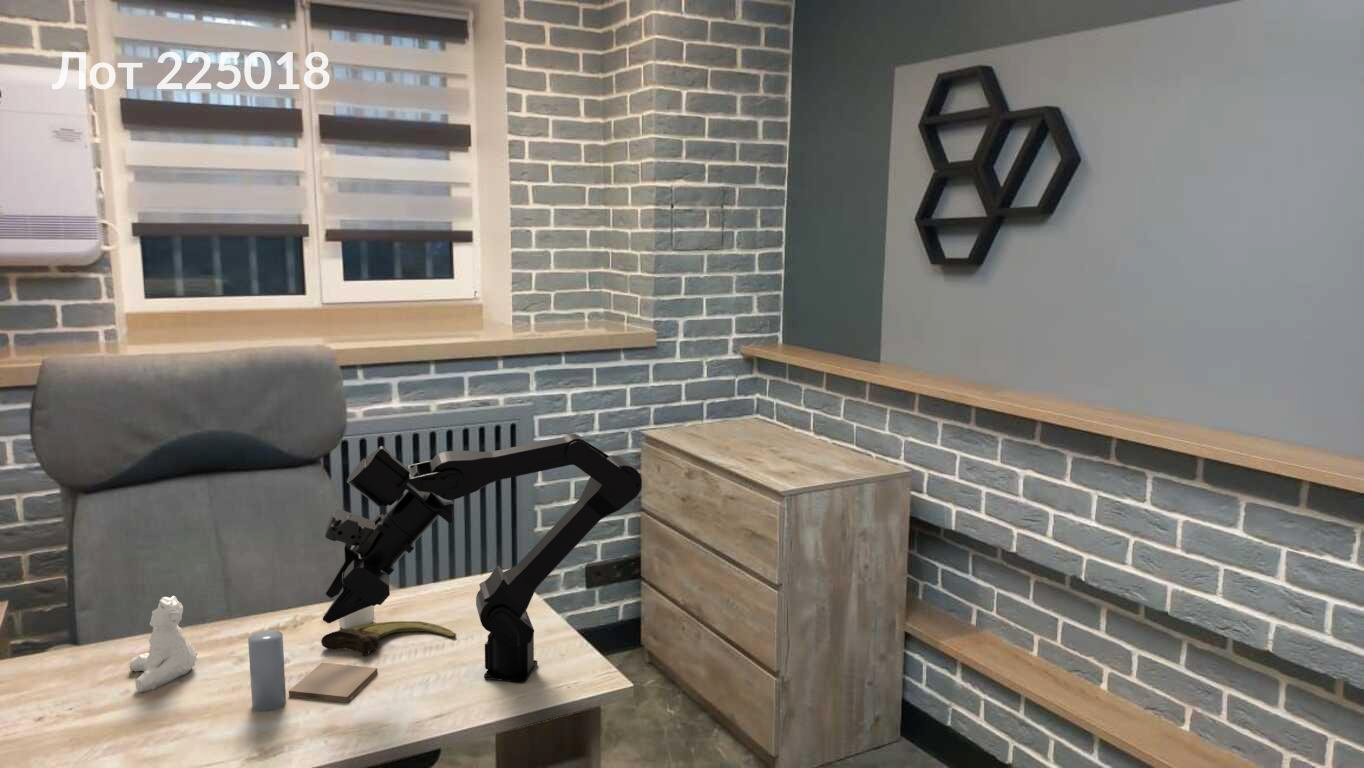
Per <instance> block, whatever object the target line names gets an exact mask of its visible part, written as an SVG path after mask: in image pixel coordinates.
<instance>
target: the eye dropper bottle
mask: <svg viewBox="0 0 1364 768" xmlns="http://www.w3.org/2000/svg"><path fill="white" fill-rule="evenodd" d="M374 620H375V606H373V605H372V606H369V607H366V608H364V609H361V610H359V611H356V612H354V613H351V614H349V615H347V616H345V617H342V618H340V619H338V625H339V627H340V628H341V629H345V628H350V627H353V626H359V625H364V624H371V623H372V622H373V623H374Z"/></svg>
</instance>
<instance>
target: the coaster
mask: <svg viewBox="0 0 1364 768" xmlns="http://www.w3.org/2000/svg"><path fill="white" fill-rule="evenodd" d="M377 674H378V667H372V666H371V667H370V666H369V667H368V666H361V665H349V664H342V663H341V664H340V663H332V662H331V663H330V662H329V663H328V662H321V663H320V664H319V665H317V666H316V667H315V668H314V669H312V670H311V671H310V672H309V673H308V674H307V675H305V676H304V677H302V679H300V681H299V682H297V683H296V684H295V685H294V686H293V687H292V688H290V689H289V690H288V696H289V697H297V698H305V699H314V700H323V701H333V702H342V703H348V702H350V700H351V699H352V698H353V697H355V696H356V694H358V693H359V692H360V691H361V690H362V689H363V688H364V687H365V686H366V685H367V684H368V683H369V682H370V681H371V680H372V679H373V678H375V676H376V675H377Z"/></svg>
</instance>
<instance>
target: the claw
mask: <svg viewBox="0 0 1364 768" xmlns="http://www.w3.org/2000/svg"><path fill="white" fill-rule="evenodd" d="M401 632H429V633H435V634H439V635H444V636H447V637H451V638H452V637H453V638H455V637H457V633H455V632H454V631H453V630H451V629H448V628H447V627H444V626H441V625H439V624H434V623H431V622H426V621H418V620H416V621H415V620H413V621H412V620H400V621H399V620H398V621H397V620H395V621H383V622H382V621H381V622H373V623H372V622H371V623H370V624H364V625H359V626H353V627H350V628H345V629H343V628H341V629H339V630H336V631H331V632H330V633H327V634H325V635H324V636H323V637H322V638H321V646H322V647H323V648H325V649H327V650H350V651H355V652H358V653H360V654H361V656H367V655H369V653H370V651H372V650H377V649H378V648H379V646H380V639H381V638H383V637H384V636H387V635H389V634H392V633H393V634H394V633H401Z"/></svg>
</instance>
